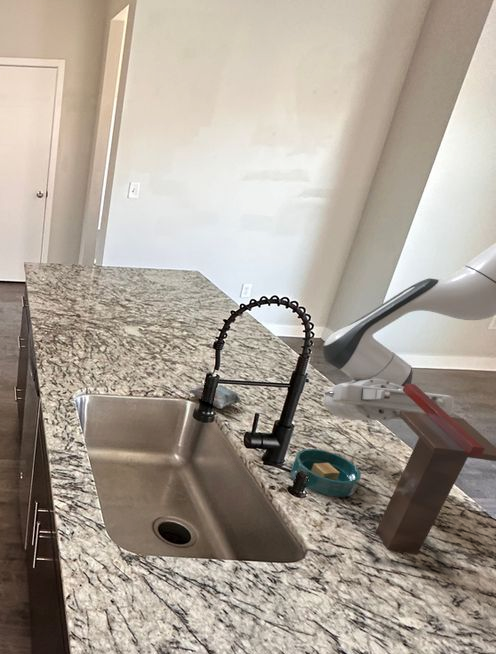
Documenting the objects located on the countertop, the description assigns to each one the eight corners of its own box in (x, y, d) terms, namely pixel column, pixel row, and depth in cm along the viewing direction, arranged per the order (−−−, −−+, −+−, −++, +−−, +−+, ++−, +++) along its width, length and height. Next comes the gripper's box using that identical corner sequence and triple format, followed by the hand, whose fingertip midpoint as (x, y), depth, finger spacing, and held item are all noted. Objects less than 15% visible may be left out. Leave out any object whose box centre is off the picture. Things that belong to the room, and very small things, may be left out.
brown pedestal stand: (413, 531, 106) (469, 419, 94) (446, 578, 95) (514, 458, 84) (346, 521, 108) (393, 409, 97) (371, 565, 97) (428, 446, 86)
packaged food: (220, 415, 144) (224, 399, 142) (184, 396, 153) (188, 380, 151) (240, 408, 148) (245, 392, 146) (204, 390, 157) (208, 374, 155)
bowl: (340, 471, 123) (347, 453, 121) (362, 506, 112) (370, 487, 110) (283, 463, 125) (289, 445, 123) (299, 496, 114) (306, 477, 112)
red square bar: (411, 391, 103) (414, 384, 103) (480, 456, 84) (485, 448, 83) (402, 390, 104) (405, 383, 103) (469, 455, 84) (473, 446, 83)
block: (323, 475, 120) (328, 462, 119) (334, 486, 117) (340, 472, 115) (308, 476, 120) (313, 463, 118) (319, 486, 116) (325, 473, 115)
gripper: (322, 379, 117) (354, 374, 103) (427, 391, 113) (475, 388, 100) (319, 407, 116) (351, 407, 103) (425, 421, 113) (472, 422, 99)
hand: (413, 398), depth 101 cm, fingers open, 8 cm apart
